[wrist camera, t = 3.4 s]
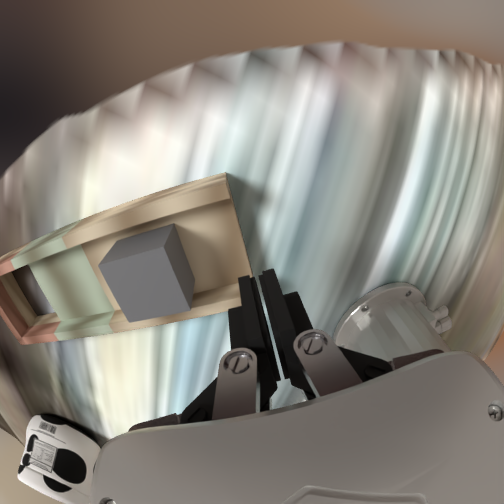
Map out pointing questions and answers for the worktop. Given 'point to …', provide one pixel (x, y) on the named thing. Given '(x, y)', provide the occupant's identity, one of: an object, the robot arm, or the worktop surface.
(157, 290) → the block
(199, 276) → the lane
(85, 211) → the worktop surface
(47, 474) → the milk container
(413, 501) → the robot arm
